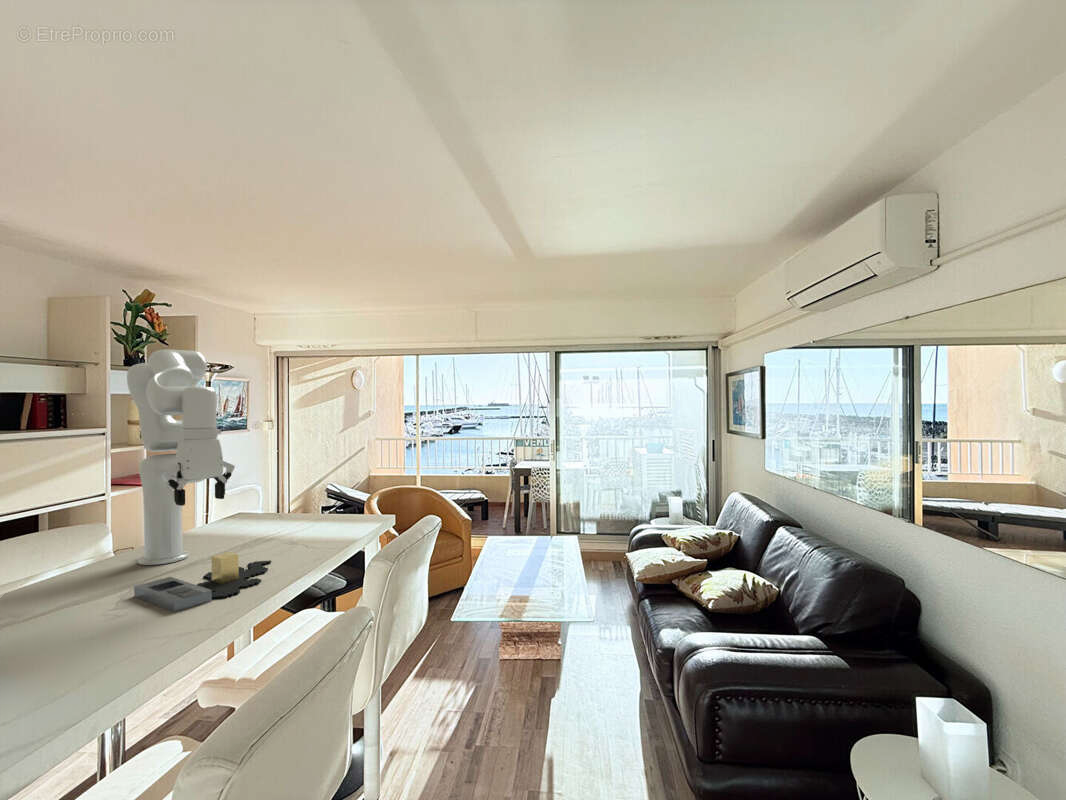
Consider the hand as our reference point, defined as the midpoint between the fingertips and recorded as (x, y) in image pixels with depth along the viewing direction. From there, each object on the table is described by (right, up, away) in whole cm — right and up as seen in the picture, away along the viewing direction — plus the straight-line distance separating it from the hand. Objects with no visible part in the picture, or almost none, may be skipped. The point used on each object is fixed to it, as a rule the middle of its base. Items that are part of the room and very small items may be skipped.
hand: (200, 501), depth 139 cm
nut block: (+5, -21, +2) cm, 22 cm away
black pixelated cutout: (+6, -22, +4) cm, 23 cm away
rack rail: (-1, -21, -9) cm, 23 cm away
